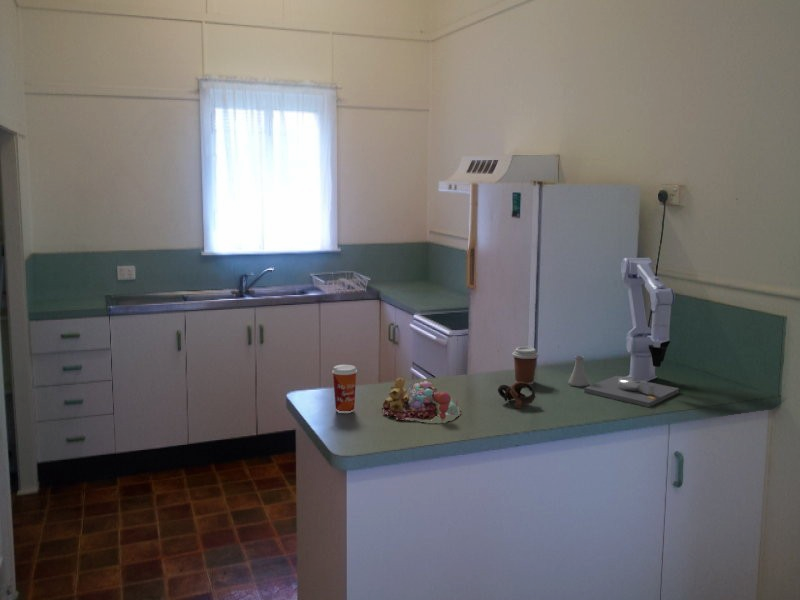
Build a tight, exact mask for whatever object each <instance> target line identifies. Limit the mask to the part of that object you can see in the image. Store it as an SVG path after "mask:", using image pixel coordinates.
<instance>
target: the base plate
mask: <svg viewBox="0 0 800 600" xmlns="http://www.w3.org/2000/svg"><path fill="white" fill-rule="evenodd" d="M620 377H623V376H621V375H615V376H612V377H609V378H607V379H604V380H602V381H599V382H597V383H594V384H591V385H588V386H585V387H584V393H586V394H590V395H594V396H600V397H603V398H608V399H612V400H617V401H621V402H624V403H629V404H632V405H633V404H634V405H637V406H640V407H641V406H642V407H646V408H650V407H652V406H655V405H656V404H659V403H661V402H663V401H664V400H666V399H669V398H671V397H673V396H675V395H677V394H679V393H680V388H679V387H673V386H669V385H664V384H660V383H655V382H649V381H647V382H646V383H648V384H650V385H653V386H654V394H651V395H647V394H645V393H642V392H640V391H628V390H623V389H620V388H619V387H618V379H619V378H620Z"/></svg>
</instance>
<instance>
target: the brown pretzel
mask: <svg viewBox="0 0 800 600" xmlns="http://www.w3.org/2000/svg"><path fill="white" fill-rule="evenodd" d="M525 388H527V389H529V391H530V392H531V394H530V395H527V396H526V394H523V393H522V392H521V391H522V389H525ZM497 391H498V395H499V396H501V398H503V399H504V401H505V402H508V400H510V401H511V400H515V403H514V404H513V405H514V408H516V409H518V408H519V409H520V408H521V407H524V406H527V405H530V404H532V403H533V402H534V401H535V399H536V391H535V389H534V387H533V386H532V384H528V383H525V382H515V383H513V384H512V385H506V384H501V385H499V387H498V388H497Z"/></svg>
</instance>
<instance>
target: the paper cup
mask: <svg viewBox="0 0 800 600" xmlns="http://www.w3.org/2000/svg"><path fill="white" fill-rule="evenodd" d="M357 372H358V370H357V367H356V366H355V365H351V364H338V365H337V364H336V365H335V366H333V368H332V371H331V373H332V374H333V375H332V376H333V377H332V378H333V393H334V403H335V410H336V409H337V410H339V411H351V410H353V409H354V410H355V405H356V404H355V400H356V386H357V385H356V383H357V382H356V380H357Z"/></svg>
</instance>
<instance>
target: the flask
mask: <svg viewBox="0 0 800 600" xmlns="http://www.w3.org/2000/svg"><path fill="white" fill-rule="evenodd" d="M574 359H575V361H574V362H575V364H574V367H573V370H572V373H571V375H570V377H569V379H568V383H567V384H568V385H569V386H571V387H588V386H590V385H589V380H588V376H587V373H586V369H585V365H584V359H585V356H583V355H575V356H574Z"/></svg>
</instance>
